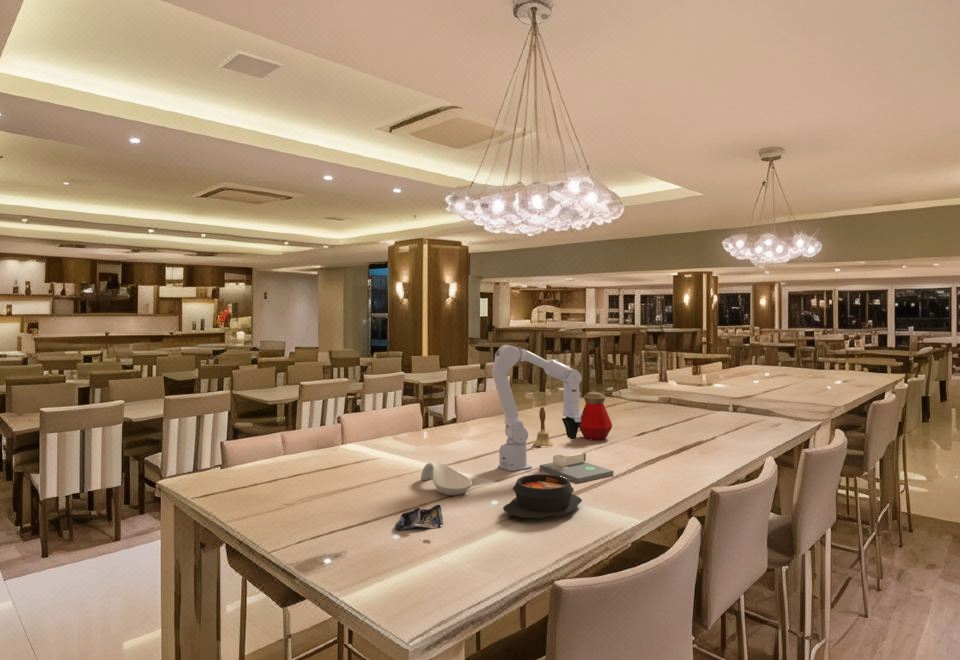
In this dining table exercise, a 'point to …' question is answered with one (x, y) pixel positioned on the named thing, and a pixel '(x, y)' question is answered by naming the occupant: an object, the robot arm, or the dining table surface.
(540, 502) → the casserole
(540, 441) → the hand bell
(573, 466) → the dial board
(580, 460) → the brown-capped cream post
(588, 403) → the bottle
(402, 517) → the snack package
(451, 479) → the spoon rest
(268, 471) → the dining table surface
